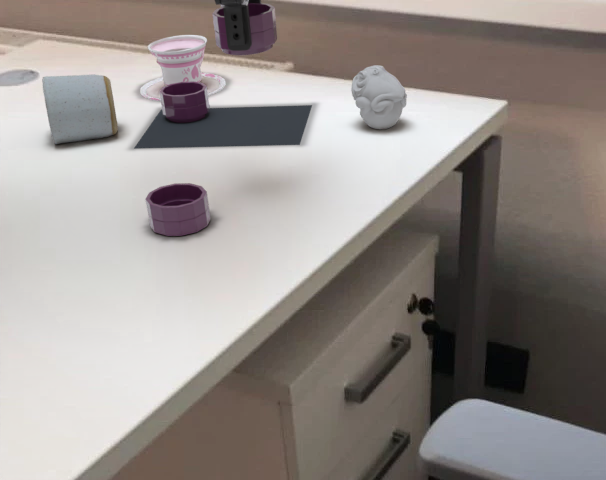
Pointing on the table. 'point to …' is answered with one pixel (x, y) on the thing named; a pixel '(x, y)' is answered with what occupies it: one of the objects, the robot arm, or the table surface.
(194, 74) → the teacup
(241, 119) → the mat
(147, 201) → the dish middle
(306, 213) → the table surface
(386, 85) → the frog figurine
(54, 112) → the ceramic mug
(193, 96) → the dish left
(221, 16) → the dish right
